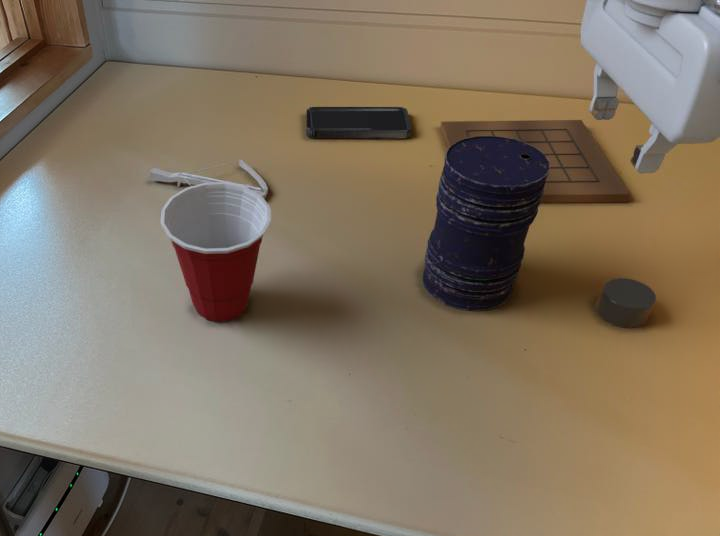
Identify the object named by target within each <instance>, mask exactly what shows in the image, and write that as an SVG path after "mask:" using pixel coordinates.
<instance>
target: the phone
mask: <svg viewBox="0 0 720 536" xmlns="http://www.w3.org/2000/svg"><path fill="white" fill-rule="evenodd" d="M305 112H306V115H305V116H306V117H305V118H306V119H305V120H306V121H305V125H306V126H305V127H306V128H305V135H306V136H307V137H308V138H312V139H408V138H410V137H411V132H412V124H411V120H410V115H409V111H408V109H407V108H405V107H403V106H310V107H308V108H306V111H305Z"/></svg>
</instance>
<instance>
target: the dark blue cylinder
mask: <svg viewBox="0 0 720 536" xmlns="http://www.w3.org/2000/svg"><path fill="white" fill-rule="evenodd" d="M549 169H550V163H549V160H548V158H547V157H546V156H545V154H543V153H542V152H541V151H540V150H538V149H537V148H535V147H533V146H532V145H530V144H527V143H525V142H522V141H519V140H515V139H511V138H506V137H499V136H477V137H470V138H466V139H463V140H460V141H458V142H456V143H454V144H453V145H451V146H450V147H449V149H448V150H447V149H446V152H445V156H444V164H443V167H442V171H441V175H440V177H439V182H438V187H437V188H438V189H437V190H438V192H437V194H436V197H435V201H436V204H435V205H436V210H437V211H436V216H435V221H434V225H433V229H432V230H431V232H430V234H429V238H428V240H427V246H426V251H425V255H424V269H423V272H422V284H423V287H424V289H425V290H426V292H427V293H428V294H429V295H430V296H431V297H432V298H434V299H435V300H436V301H437V302H439V303H441V304H444V305H446V306H447V307H450V308H453V309H458V310H462V311H470V312H481V311H489V310H492V309H496V308H498V307H500V306H502V305H504V304H505V303H506V302H507V301H508V300H509V299H510V298H511V296H512V292H513V290H514V284H515V283H516V280H517V278H518V276H519V273H520V271H521V268H522V262H523V260H524V258H525V257H524V256H525V250H526V247H525V242H526V239H527V235H528V233H529V230H530V227H531V225H532V224H533V222H534V221H535V219H536V217H537V215H538V212H539V207H540V205H541V204H542V203H541V199H542V196H543V192H544V186H545V181H546V178H547V176H548V173H549Z"/></svg>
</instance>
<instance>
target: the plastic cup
mask: <svg viewBox="0 0 720 536" xmlns="http://www.w3.org/2000/svg"><path fill="white" fill-rule="evenodd" d="M191 186H192V187H191ZM191 186H188V187H185V188H183V189H182V190H180V191H178V192H177V193H175V194H173V195H172V196H171V197H169V199H168V200H167V201H166V203H165V204H164V206H162V208H161V210H160V226H161V228H162V229H163V231H164V232H165V234H166V236H167V237H168V240H169V241H171V244H172V247H173V248H174V252H175V254H176V257H177V260H178V263H179V267H180V270H181V273H182V276H183V279H184V282H185V286H186V287H187V289H188V292H189V295H190V299H191V302H192V305H193V307H194V308H195V310H196V312H197V314H198V315H199V316H200V317H202V318H204V319H205V320H208V321H212V322H217V323H219V322H229V321H232V320H236V319H237V318H238V317H240V316H242V315H243V314H244V312H245V311H246V309H247V307H248V304H249V302H250V297H251V290H252V285H253V284H254V279H255V273H256V268H257V263H258V257H259V252H260V247H261V245H262V242H263V238H264V235H265V234H266V232H267V230H268V228H269V226H270V225H271V222H272V212H271V206H270V205H269V204H268V202H267V201H266V199H265V200H264V198H263V197H262V196H261V195H260V194H258V193H256V192H255V191H253V190H251V189H249V188H247V187H245V186H241V185H236V184H232V183H227V182H216V183H203V184H199V185H191Z"/></svg>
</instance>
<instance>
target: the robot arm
mask: <svg viewBox="0 0 720 536" xmlns="http://www.w3.org/2000/svg"><path fill="white" fill-rule="evenodd" d="M580 45H581V48H582V49H583V50H585V52H586V53H587V54H588V55H589V56H590V57H591V58H592V60H593V61H594V62H595V66H594V70H593V96H592V99H591V101H590V106H589V110H588V111H589V113H590V114H591V115H592V116H593V118H594V119H595V120H597V121H602V120H604V121H610V120H612V119H613V118H614V117H615V115H616V111H617V109H618V107H619V104H620V99H619V98H618V97H617V96H618V91H619V90H618V89H621V91H622V92H623V93H624V95H626V97H628V99H629V100H630V101H631V102H632V103H633V104H634V105H635V107H636V108H638V110H639V111H640V112H641V113H642V114H643V115H644V117H646V118H647V119H648V121H650V123H651V124H650V127H649V130H648V134H649V135H650V137H649V139H648V140H647V141H646V142H645V143H644V144H636V146H635V148H634V151H633V155H632V156H631V159H630V164H631V165H632V166H633V167H634V169H635V170H636V172H638V173H639V174H653V173H656V172H658V171H659V170H660V169H661V166H662V164H663V161H664V159H665V157H666V155H667V154H668V153H670V151H672V150H673V149H674V148H675V147H676V146H677V145H695V144H697V145H698V144H699V145H700V144H708V143H713V142H715V141H717V140H718V139H719V138H720V0H586V2H585V6H584V11H583V15H582V19H581V24H580Z"/></svg>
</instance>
